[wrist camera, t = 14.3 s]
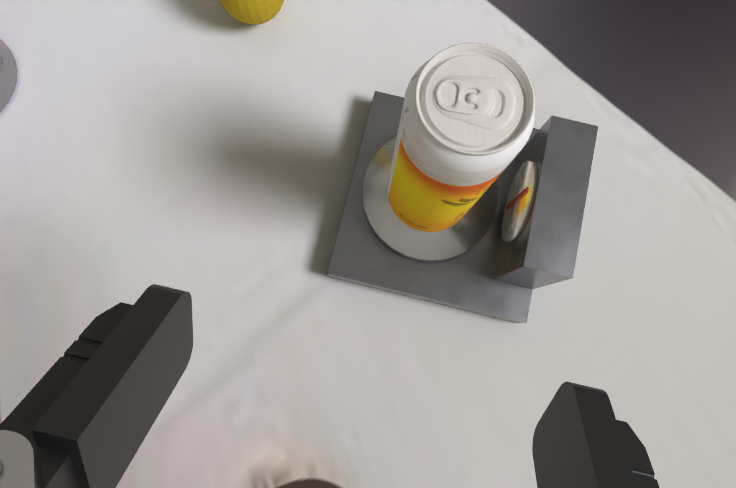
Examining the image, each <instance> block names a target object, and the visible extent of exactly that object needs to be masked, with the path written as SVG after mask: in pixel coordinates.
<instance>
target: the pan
mask: <svg viewBox="0 0 736 488" xmlns="http://www.w3.org/2000/svg"><path fill="white" fill-rule="evenodd" d="M396 139H397V137H395V138H394V139H392V140H390V141H389V142H388V143H386V144H385V145H384V146H383V147H382V148H381V149H380V150H379V151H378V152H377V153H376V155H375V156H374V158H373V159H372V161H371V162H370V165H369V167H368V169H367V172H366V175H365V178H364V184H363V206H364V210H365V214H366V217H367V220H368V222H369V224H370V226H371V228H372V230H373V231H374V232H375V234H376V235H377V237H378V238H379V239H380V240H381V241H382V242H383V243H384V244H385V245H386V246H388V247H389V248H390V249H392V250H393V251H395V252H396V253H398V254H400V255H402V256H405V257H407V258H410V259H414V260H419V261H428V262H434V261H443V260H447V259H451V258H453V257H456V256H459V255H460V254H462V253H464V252H466V251H467V250H469V249H470V248H472V247H473V246H474V245H475V244H476V243H477V242H479V241H480V240H481V239H482V237H483V236H484V235H485V234H486V233H487V231H488V229H489V228H490V226H491V224H492V222H493V220H494V217H495V214H496V211H497V205H498V187H497V181H496V180H495V181H494V182H493V183H492V184H491V186H490V187H489V188H488V189H487V190H486V191H485V192H484V194H483V195H482V196H481V197H480V198H479V199H478V201H477V202H476V203H475V204H474V205H473V206H472V207H471V209H470V210H469V211H468V212H467V213H466V214H465V215H464V217H463V218H462V219H461V220H460V221H459V222H458V223H456V224H455V225H454V226H452V227H450V228H448V229H446V230H442V231H438V232H424V231H419V230H416V229H413V228H411V227H409V226H408V225H406V224H405V223H403V222H402V221H401V220H400V219H399V218H398V217H397V216H396V214H395V213H394V211H393V210H392V208H391V205H390V203H389V199H388V181H389V176H390V171H391V165H392V160H393V155H394V150H395V145H396Z"/></svg>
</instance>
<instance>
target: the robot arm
mask: <svg viewBox="0 0 736 488" xmlns="http://www.w3.org/2000/svg"><path fill="white" fill-rule="evenodd" d="M16 82H17V67H16V62H15V59H14V57H13V55H12V52H11V51H10V49H9V48H8V47H7V46H6V44H5V43H4V42H3V41H1V40H0V112H1V110H2V109H3V108H4V107H5V106H6V104H7V103H8V102H9V100H10V98H11V96H12V94H13V92H14V89H15V85H16ZM192 348H193V325H192V300H191V295H190V293H189V292H186V291H182V290H177V289H173V288H169V287H164V286H160V285H156V284H153V285H151V286H149V287H148V288H147V289H146V290H145V292H144V293H143V294H142V295H141V297H140V298H139V299H138V300H137V301H136V303H135V304H134V305H130V304H126V303H119V304H117V305H116V306H114V307H112V308H111V309H109V310H107V311H105V312H104V313H102V314H100V315H99V316H97V317H96V318H95V319H94V320H93V321H92V322H91V323H90V325H89V326H88V327H87V328H86V329H85V330H84V331H83V332H82V334H81V335H80V336H79V339H78V340H77V341H76V340H75V341H74V343H73V344H72V345H71V346H70V347H69V348H68V349H67V350H66V352H65V353H64V356H63V357H60V358H59V359H58V361H57V362H56V363H55V364H54V365H53V366H52V367H51V368H50V370H49V371H48V372H47V373H46V374H45V375H44V376H43V377H42V379H41V380H40V381H39V382H38V383H37V384H36V385H35V386H34V388H33V389H32V390H31V391H30V392H29V393H28V394H27V395H26V397H25V398H24V399H23V400H22V401H21V402H20V403H19V404H18V406H17V407H16V408H15V409H14V410H13V411H12V412H11V413H10V415H9V416H8V417H7V418H6V419H5V420H4V421H3V422H2V423H1V424H0V488H116V486H117V484H118V482H119V481H120V479H121V477H122V476H123V474H124V472H125V471H126V469H127V467H128V466H129V464H130V462H131V460H132V459H133V457H134V455H135V454H136V452H137V450H138V449H139V447H140V445H141V444H142V442H143V440H144V438H145V437H146V435H147V433H148V432H149V430H150V428H151V427H152V425H153V423H154V422H155V420H156V418H157V416H158V415H159V413H160V411H161V410H162V408H163V406H164V405H165V403H166V401H167V400H168V398H169V396H170V394H171V393H172V391H173V389H174V388H175V386H176V384H177V383H178V381H179V379H180V378H181V376H182V374H183V372H184V371H185V369H186V367H187V365H188V362H189V359H190V356H191V353H192ZM533 459H534V466H535V473H536V480H537V487H538V488H659V485H658V482H657V480H656V479H654V475H655V474H654V471H653V468H652V465H651V462H650V460H649V457H648V454H647V451H646V448H645V447H644V445H643V444H642V443H641V441H640V440H639V438H638V437H637V436H636V434H635V433H634V431H633V430H632V429H631V427H630V426H629V425H628V423H627V422H623V421H619V420H616V419H615V415H614V412H613V409H612V406H611V403H610V400H609V397H608V395H607V393H606V392H605V391H603V390H601V389H596V388H592V387H588V386H584V385H579V384H575V383H571V382H564V383H563V384H562V385H561V386H560V388H559V389H558V391H557V393H556V394H555V396H554V398H553V399H552V401H551V402H550V404H549V406H548V407H547V409H546V411H545V412H544V414H543V416H542V417H541V419H540V421H539V422H538V424H537V426H536V429H535V432H534V437H533Z"/></svg>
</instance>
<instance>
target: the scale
mask: <svg viewBox="0 0 736 488" xmlns="http://www.w3.org/2000/svg"><path fill="white" fill-rule="evenodd" d="M403 103H404V98H403V97H398V96H394V95H390V94H386V93H381V92H377V91H375V93H374V97H373V100H372V104H371V108H370V112H369V116H368V119H367V123H366V127H365V131H364V135H363V139H362V142H361V146H360V150H359V154H358V158H357V162H356V165H355V169H354V173H353V177H352V181H351V184H350V188H349V192H348V196H347V200H346V204H345V207H344V211H343V215H342V219H341V223H340V226H339V230H338V234H337V238H336V242H335V246H334V249H333V253H332V257H331V261H330V265H329V268H328V272H327V274H328V276H329V277H332V278H336V279H340V280H344V281H348V282H352V283H356V284H360V285H364V286H368V287H373V288H377V289H381V290H385V291H389V292H393V293H397V294H401V295H405V296H409V297H413V298H417V299H421V300H425V301H429V302H434V303H438V304H442V305H446V306H450V307H454V308H458V309H462V310H466V311H470V312H474V313H478V314H482V315H486V316H490V317H495V318H499V319H503V320H507V321H511V322H515V323H526V322H527V317H528V312H529V306H530V301H531V295H532V290H533V289H535V288H539V287H542V286H546V285H550V284H553V283H557V282H560V281H564V280H568V279H571V278H573V273H574V267H575V261H576V255H577V249H578V243H579V237H580V231H581V225H582V219H583V213H584V207H585V201H586V195H587V189H588V183H589V177H590V171H591V165H592V159H593V154H594V148H595V142H596V136H597V130H598V126H595V125H590V124H586V123H582V122H577V121H573V120H569V119H565V118H560V117H556V116H551V117H550V118H549V119H548V120H547V122H546V123H545V124H544V125H543V126H542V127H541V129H540V130H539V129H535V128H533V130H532V133H531V135H530V137H529V139H528V141H527V143H526V144H525V146H524V147H523V149H522V150H521V151H520V152H519V153H518V154H517V156H516V157H515V158H514V159H513V160H512V161H511V163H510V164H509V165H508V166H507V167H506V168H505V169H504V171H503V172H502V173H501V174H500V175H499V176H498V177H497V179H496V181H497V187H498V205H497V211H496V214H495V217H494V220H493V222H492V224H491V226H490V228H489V229H488V231H487V233H486V234H485V235H484V236H483V237H482V239H481V240H480V241H479V242H477V243H476V244H475V245H474V246H473V247H472V248H470V249H469V250H467V251H466V252H464V253H462V254H460V255H459V256H456V257H453V258H451V259H447V260H443V261H434V262H428V261H419V260H414V259H410V258H407V257H405V256H402V255H400V254H398V253H396V252H395V251H393V250H392V249H390V248H389V247H388V246H386V245H385V244H384V243H383V242H382V241H381V240H380V239H379V238H378V237H377V235H376V234H375V232H374V231H373V230H372V228H371V226H370V224H369V222H368V220H367V217H366V214H365V210H364V206H363V184H364V178H365V175H366V172H367V169H368V167H369V165H370V162H371V161H372V159H373V158H374V156H375V155H376V153H377V152H378V151H379V150H380V149H381V148H382V147H383V146H384V145H385V144H386V143H388V142H389V141H390V140H392V139H394V138H395V137H397V134H398V129H399V124H400V119H401V113H402V108H403Z"/></svg>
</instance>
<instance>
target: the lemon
mask: <svg viewBox="0 0 736 488" xmlns="http://www.w3.org/2000/svg"><path fill="white" fill-rule="evenodd" d="M219 1H220V3H221V5H222V6H223V8H224V9H225V10H226V11H227V12H228V13H229V14H230V15H231V16H232V17H234V18H235V19H237V20H239V21H240V22H243V23H247V24H255V25H256V24H262V23H265V22H267V21H269V20H271V19H272V18H273V17H275V15H276V14H277V13H278V12H279V11H280V9H281V6H282V4H283V2H284V0H219Z"/></svg>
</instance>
